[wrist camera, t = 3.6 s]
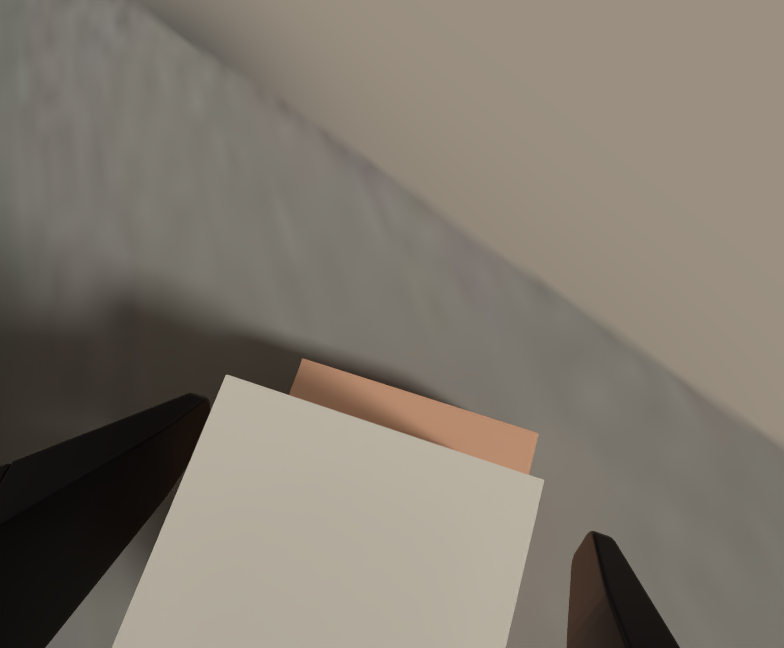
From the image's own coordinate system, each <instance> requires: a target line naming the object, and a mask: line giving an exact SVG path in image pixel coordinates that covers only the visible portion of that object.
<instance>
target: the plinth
mask: <svg viewBox="0 0 784 648" xmlns="http://www.w3.org/2000/svg"><path fill="white" fill-rule="evenodd" d="M289 395H290V396H293V397H296V398H299V399H302V400H305V401H308V402H311V403H314V404H317V405H320V406H323V407H326V408H329V409H332V410H335V411H338V412H341V413H344V414H347V415H350V416H353V417H356V418H359V419H362V420H365V421H368V422H371V423H374V424H377V425H380V426H383V427H386V428H389V429H392V430H395V431H398V432H401V433H404V434H407V435H410V436H413V437H416V438H419V439H422V440H425V441H428V442H431V443H434V444H437V445H440V446H443V447H446V448H449V449H452V450H455V451H458V452H461V453H464V454H467V455H470V456H473V457H476V458H479V459H482V460H485V461H488V462H491V463H494V464H497V465H500V466H503V467H506V468H509V469H512V470H515V471H518V472H521V473H524V474H527V475H529V472H530V468H531V464H532V459H533V455H534V451H535V447H536V443H537V439H538V435H539V433H536V432H533V431H530V430H526V429H523V428H520V427H517V426H514V425H511V424H508V423H504V422H501V421H498V420H495V419H492V418H489V417H486V416H482V415H479V414H476V413H473V412H470V411H467V410H464V409H460V408H457V407H454V406H451V405H448V404H445V403H442V402H439V401H435V400H432V399H429V398H426V397H423V396H420V395H417V394H413V393H410V392H407V391H404V390H401V389H398V388H395V387H391V386H388V385H385V384H382V383H379V382H376V381H373V380H369V379H366V378H363V377H360V376H357V375H354V374H351V373H347V372H344V371H341V370H338V369H335V368H332V367H329V366H325V365H322V364H319V363H316V362H313V361H310V360H307V359H302V361H301V364H300V367H299V369H298V372H297V374H296V377H295V380H294V382H293V385H292V388H291V390H290V393H289Z"/></svg>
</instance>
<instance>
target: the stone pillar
mask: <svg viewBox="0 0 784 648" xmlns="http://www.w3.org/2000/svg"><path fill="white" fill-rule="evenodd" d="M543 484H544V480H542V479H539V478H536V477H533V476H530V475H527V474H524V473H521V472H518V471H515V470H512V469H509V468H506V467H503V466H500V465H497V464H494V463H491V462H488V461H485V460H482V459H479V458H476V457H473V456H470V455H467V454H464V453H461V452H458V451H455V450H452V449H449V448H446V447H443V446H440V445H437V444H434V443H431V442H428V441H425V440H422V439H419V438H416V437H413V436H410V435H407V434H404V433H401V432H398V431H395V430H392V429H389V428H386V427H383V426H380V425H377V424H374V423H371V422H368V421H365V420H362V419H359V418H356V417H353V416H350V415H347V414H344V413H341V412H338V411H335V410H332V409H329V408H326V407H323V406H320V405H317V404H314V403H311V402H308V401H305V400H302V399H299V398H296V397H293V396H290V395H287V394H284V393H281V392H278V391H275V390H272V389H269V388H266V387H263V386H260V385H257V384H254V383H251V382H248V381H245V380H242V379H239V378H236V377H233V376H230V375H227V374H226V376H225V378H224V380H223V383H222V385H221V388H220V390H219V392H218V395H217V397H216V400H215V402H214V404H213V407H212V409H211V412H210V414H209V416H208V419H207V421H206V424H205V426H204V428H203V431H202V433H201V436H200V438H199V440H198V443H197V445H196V448H195V450H194V452H193V455H192V457H191V460H190V462H189V464H188V467H187V469H186V471H185V474H184V476H183V479H182V481H181V483H180V486H179V488H178V491H177V493H176V495H175V498H174V500H173V503H172V505H171V507H170V510H169V512H168V515H167V517H166V519H165V522H164V524H163V527H162V529H161V531H160V534H159V536H158V539H157V541H156V543H155V546H154V548H153V551H152V553H151V555H150V558H149V560H148V562H147V565H146V567H145V570H144V572H143V574H142V577H141V579H140V582H139V584H138V586H137V589H136V591H135V594H134V596H133V598H132V601H131V603H130V606H129V608H128V610H127V613H126V615H125V618H124V620H123V622H122V625H121V627H120V630H119V632H118V634H117V637H116V639H115V642H114V644H113V646H112V648H506V643H507V639H508V635H509V630H510V626H511V622H512V617H513V613H514V609H515V605H516V600H517V596H518V592H519V587H520V583H521V579H522V574H523V570H524V566H525V561H526V557H527V553H528V548H529V544H530V540H531V536H532V531H533V527H534V523H535V518H536V514H537V510H538V505H539V501H540V497H541V492H542V488H543Z"/></svg>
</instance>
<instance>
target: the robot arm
mask: <svg viewBox="0 0 784 648" xmlns="http://www.w3.org/2000/svg"><path fill="white" fill-rule="evenodd" d="M209 414H210V403H209V400H208V398H206V397H204V396H201V395H198V394H195V393H189V394H186V395H183V396H180V397H178V398H175V399H173V400H170V401H168V402H165V403H162V404H160V405H157V406H155V407H152V408H150V409H147V410H144V411H142V412H139V413H137V414H134V415H132V416H129V417H126V418H124V419H121V420H119V421H116V422H114V423H111V424H108V425H106V426H103V427H101V428H98V429H96V430H93V431H90V432H88V433H85V434H83V435H80V436H78V437H75V438H73V439H70V440H67V441H65V442H62V443H60V444H57V445H55V446H52V447H49V448H47V449H44V450H42V451H39V452H37V453H34V454H31V455H29V456H26V457H24V458H21V459H19V460H16V461H14V462H12V464H5V465H3V466H0V648H45V647H46V646H47V645H48V644H49V642H50V641H51V640H52V639H53V637H54V636H55V635H56V634H57V632H58V631H59V630H60V629H61V627H62V626H63V625H64V624H65V622H66V621H67V620H68V619H69V617H70V616H71V615H72V614H73V612H74V611H75V610H76V609H77V607H78V606H79V605H80V604H81V602H82V601H83V600H84V599H85V597H86V596H87V595H88V594H89V592H90V591H91V590H92V589H93V587H94V586H95V585H96V584H97V582H98V581H99V580H100V579H101V577H102V576H103V575H104V574H105V572H106V571H107V570H108V569H109V567H110V566H111V565H112V564H113V562H114V561H115V560H116V559H117V557H118V556H119V555H120V554H121V552H122V551H123V550H124V549H125V548H126V546H127V545H128V544H129V543H130V541H131V540H132V539H133V538H134V536H135V535H136V534H137V533H138V531H139V530H140V529H141V528H142V526H143V525H144V524H145V523H146V521H147V520H148V519H149V518H150V516H151V515H152V514H153V513H154V511H155V510H156V509H157V508H158V506H159V505H160V504H161V503H162V501H163V500H164V499H165V497H166V496H167V495H168V493H169V492H170V491H171V489H172V488H173V486H174V485H175V483H176V482H177V480H178V479H179V477H180V476H181V474H182V473H183V471H184V470H185V468H186V466H187V465H188V463H189V462H190V460H191V457H192V455H193V452H194V450H195V448H196V445H197V443H198V440H199V438H200V436H201V433H202V431H203V428H204V426H205V424H206V421H207V419H208V416H209ZM567 648H680V647H679V645H678V644H677V642H676V640H675V639H674V637H673V635H672V634H671V632H670V631H669V629H668V627H667V626H666V624H665V622H664V621H663V619H662V617H661V616H660V614H659V613H658V611H657V609H656V608H655V606H654V604H653V603H652V601H651V599H650V598H649V596H648V595H647V593H646V591H645V590H644V588H643V586H642V585H641V583H640V581H639V580H638V578H637V577H636V575H635V573H634V572H633V570H632V568H631V567H630V565H629V563H628V562H627V560H626V559H625V557H624V555H623V554H622V552H621V550H620V549H619V547H618V546H617V544H616V542H615V541H614V540H613V539H612V538H611V537H609V536H607V535H604V534H601V533H598V532H595V531H590V532H589V533H588V534H587V535H586V537H585V538H584V540H583V541H582V543H581V545H580V546H579V548H578V549H577V551H576V552H575V554H574V557H573V560H572V567H571V582H570V598H569V613H568V629H567Z"/></svg>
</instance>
